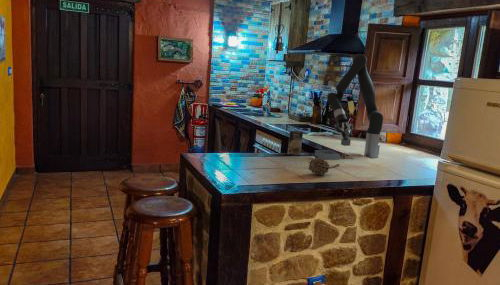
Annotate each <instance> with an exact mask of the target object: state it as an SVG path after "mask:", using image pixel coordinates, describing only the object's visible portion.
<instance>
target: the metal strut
mask: <svg viewBox="0 0 500 285" xmlns="http://www.w3.org/2000/svg"><path fill="white" fill-rule="evenodd" d="M344 133H345V135H346V136H345V137H343V136H342V138H341V141H340V145H341V146H344V147H345V146H346V147H350V146H351V139H350V138H351V137H350V130H345V129H344Z"/></svg>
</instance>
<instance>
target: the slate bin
mask: <svg viewBox="0 0 500 285" xmlns="http://www.w3.org/2000/svg"><path fill="white" fill-rule="evenodd" d="M340 156H341V154H340V153H337V152H335V151H332V150H329V149H326V150H321V149H319V150H318V149H314V159H315V158H316V159H318V158H321V160H322V159H324V161H325V162H326V161H327V160H330V161H331V160H332V161H334V160H335V161H338V160H340V159H339V158H340Z"/></svg>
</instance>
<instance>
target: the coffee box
mask: <svg viewBox="0 0 500 285" xmlns="http://www.w3.org/2000/svg"><path fill="white" fill-rule="evenodd" d="M303 134H304V132H303V131H296V130H289V137H288V146H287V155H289V154H293V155H292V156H298V155H300V156H301V153H302V144H303V136H304V135H303Z"/></svg>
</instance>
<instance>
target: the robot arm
mask: <svg viewBox="0 0 500 285" xmlns="http://www.w3.org/2000/svg"><path fill="white" fill-rule="evenodd" d="M367 62H368V58H367V56H366V55H365V54H362V53H357V54H355V55H354V56H353V58H352V64H351V65H350V67H349V69H348V71H347V72H346V73H345V74H344V75H343V77H342V78H341V79H340V81H339V82H338V84H337V85H336V86H335V90H336V92H329V93H328V94H327V98H326V99H327V102H328V104H329V105H330V107H331V109H332V111H333V115H334V116H333V117H334V118H335V121H336V123H335V124H334V126H333V127H334V128H335V130H336V131H337V133H340V134H341V136H342V138H343V137H345V136H346V135H345V133H344V130H350V138H352V137H353V131H354V123H350V122H349V119H348V117H347V115H346V112H345V109H344V108H343V105H342V104H341V102H342V100H343V97H344V95H345V92H346V90H347V89H348V88H349V86H350V85H351V83H352V81H353V80H354V79H355V77H356V76H357V79H358V80H357V81H358V85H359V86H358V87H359V89H360V93H361V97H362V100H363V102H364V106H365V108H366V109H365V110H366V116H367V120H368V122H369V124H368V127H367V129H366V135H365V143H364V153H363V156H364V157H367V158H371V159H372V158H373V159H374V158H379V155H380V147H381V144H380V137H381V131H382V129H383V124H384V116H383V113H382V112H380V111H378V108H377V104H376V91H375V86H374V83H373V81H372V79H371V77H370V74H369V73H368V69H367Z"/></svg>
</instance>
